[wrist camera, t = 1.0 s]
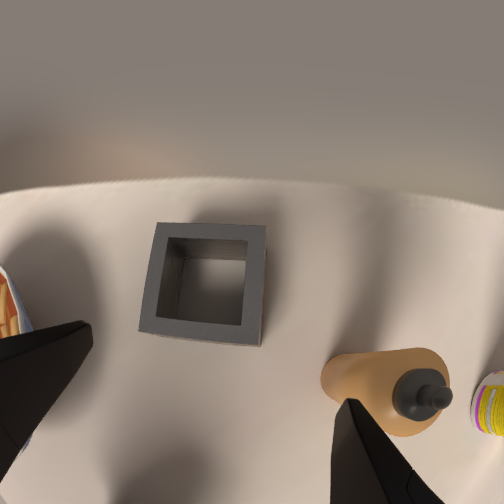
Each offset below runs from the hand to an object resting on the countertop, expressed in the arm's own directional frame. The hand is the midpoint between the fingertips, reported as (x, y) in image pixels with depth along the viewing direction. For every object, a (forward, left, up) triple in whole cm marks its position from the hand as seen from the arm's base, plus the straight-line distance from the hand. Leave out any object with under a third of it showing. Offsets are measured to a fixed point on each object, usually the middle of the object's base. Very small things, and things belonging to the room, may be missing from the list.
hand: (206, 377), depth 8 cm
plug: (-6, -6, -14) cm, 16 cm away
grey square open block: (+6, -1, -14) cm, 15 cm away
